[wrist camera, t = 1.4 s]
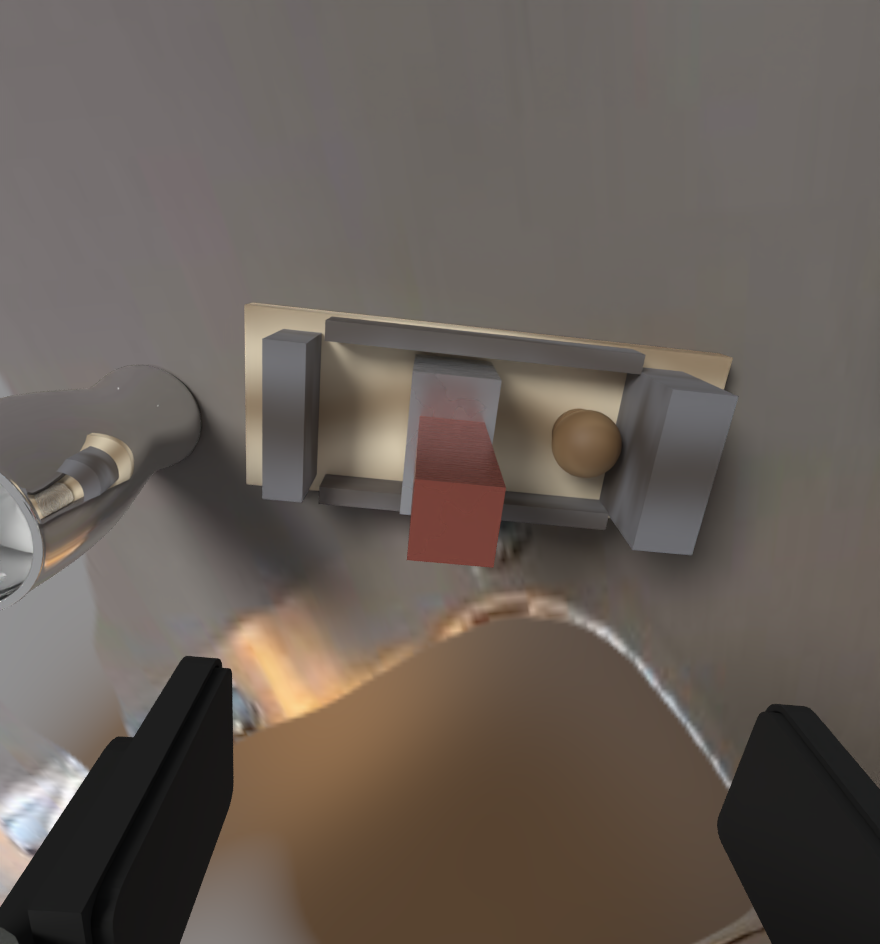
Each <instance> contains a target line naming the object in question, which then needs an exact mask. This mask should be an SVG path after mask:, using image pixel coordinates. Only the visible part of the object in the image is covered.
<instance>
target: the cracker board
mask: <svg viewBox="0 0 880 944" xmlns="http://www.w3.org/2000/svg"><path fill="white" fill-rule="evenodd" d="M415 354H423V355H433V356H442V357H451V358H461V359H470V360H480V361H489V362H491V363H492V365H493V366H494V368H495V370H496V371H497V373H498V375H499V377H500V378H501V380H502V382H501V389H500V396H499V402H498V409H497V416H496V423H495V430H494V437H493V444H492V446H493V449H494V452H495V455H496V459H497V462H498V465H499V468H500V471H501V474H502V477H503V480H504V483H505V486H506V491H505V497H504V503H503V510H502V516H501V521H512V522H522V523H533V524H544V525H555V526H566V527H577V528H588V529H599V530H605V529H606V525H607V521H608V518H611V520H612V521H613V523H614V524H615V525H616V527H617V528H618V530H619V531H620V533H621V534H622V536H623V537H624V538H625V540H626V541H627V543H628V544H629V546H630V547H631V549H632V550H639V551H650V552H661V553H672V554H683V555H692V553H693V550H694V547H695V543H696V540H697V536H698V533H699V530H700V526H701V523H702V519H703V516H704V513H705V509H706V506H707V502H708V499H709V495H710V492H711V489H712V485H713V482H714V478H715V475H716V472H717V468H718V465H719V461H720V458H721V455H722V451H723V448H724V444H725V441H726V438H727V434H728V431H729V427H730V424H731V421H732V417H733V414H734V410H735V407H736V404H737V400H738V397H739V396H736V395H734V394H732V393H730V392H728V391H725V390H724V387H725V384H726V380H727V376H728V373H729V369H730V366H731V362H732V359H733V358H731V357H728V356H725V355H722V354H719V353H709V352H700V351H691V350H682V349H673V348H664V347H654V346H645V345H636V344H627V343H618V342H609V341H599V340H590V339H581V338H572V337H563V336H553V335H544V334H535V333H526V332H517V331H508V330H498V329H489V328H480V327H471V326H462V325H453V324H443V323H434V322H425V321H416V320H407V319H397V318H388V317H379V316H370V315H361V314H352V313H342V312H333V311H324V310H315V309H306V308H297V307H287V306H278V305H269V304H260V303H250V304H246V305H245V393H246V484H250V485H260V486H262V499H270V500H280V501H291V502H303V500H304V498H305V496H306V494H307V492H308V490H314V491H319V504H327V505H337V506H348V507H359V508H370V509H381V510H392V511H400V505H401V494H402V483H403V472H404V461H405V450H406V439H407V428H408V417H409V406H410V395H411V384H412V373H413V366H414V360H415ZM578 408H579V409H586V410H594V411H598V412H601V413H603V414H605V415H606V416H608V417H609V418H610V419H611V420H612V421H613V422H614V423H615V424H616V426H617V427H618V429H619V431H620V434H621V439H622V448H621V453H620V456H619V458H618V460H617V462H616V463H615V464H614V466H613V467H612V468H611V469H610V470H608V471H607V472H605V473H604V474H602V475H600V476H597V477H593V478H580V477H576V476H573V475H570V474H569V473H567V472H565V471H564V470H563V469H562V468H561V467H560V466H559V465H558V463H557V462H556V460H555V458H554V456H553V453H552V445H551V442H552V429H553V426H554V423H555V422H556V420H557V419H558V418H559V417H560V416H561V415H562V414H563V413H565V412H567V411H569V410H571V409H578Z"/></svg>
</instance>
